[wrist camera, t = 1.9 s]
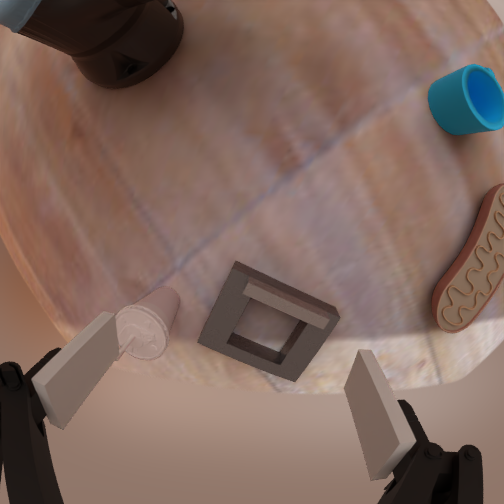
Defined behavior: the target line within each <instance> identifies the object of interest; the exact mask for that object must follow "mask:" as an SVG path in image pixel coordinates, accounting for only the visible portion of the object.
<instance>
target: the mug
mask: <svg viewBox="0 0 504 504" xmlns="http://www.w3.org/2000/svg"><path fill="white" fill-rule="evenodd" d="M428 102H429V107H430V110H431V112H432V115H433V117H434V118H435V120H436V121H437V123H438V124H439V125H440V126H441V127H442V128H443V129H444V130H445V131H446V132H448V133H450V134H452V135H464V134H471V133H478V132H486V131H495V130H498V129H501V128H502V127H503V126H504V93H503V91H502V89H501V86H500V85H499V83H498V82H497V80H496V79H495V75H494V73H493V71H492V70H491V69H490V68H486V67H485V68H484V67H482V66H480V65H476V64H471V65H468V66H465V67H463V68H461V69H459V70H457V71H455V72H453V73H451V74H449V75H447V76H445V77H443V78H441V79H439V80H437V81H435V82H434V83H433V84H432V85H431V87H430V89H429V92H428Z"/></svg>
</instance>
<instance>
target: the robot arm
mask: <svg viewBox="0 0 504 504" xmlns="http://www.w3.org/2000/svg"><path fill="white" fill-rule="evenodd" d="M0 24H2V25H4V26H6V27H8V28H10V29H11V31H12V32H14V33H18V34H21V35H24V36H26V37H29V38H31V39H34V40H36V41H38V42H41V43H43V44H46V45H48V46H50V47H53V48H55V49H57V50H59V51H61V52H64V53H66V54H68V55H70V56H71V57H72V59H73V60H74V62H75V63H76V65H77V66H78V68H79V69H80V71H81V72H82V74H83V75H84V76H85V77H86V78H87V79H88V80H90V81H91V82H93V83H95V84H98V85H100V86H102V87H105V88H113V89H115V88H124V87H128V86H131V85H134V84H137V83H139V82H141V81H143V80H145V79H146V78H148V77H150V76H151V75H153V74H154V73H155V72H156V71H158V70H159V69H160V68H161V67H162V66H163V65H164V64H165V63H166V62H167V61H168V60H169V59H170V58H171V56H172V55H173V54H174V52H175V50H176V49H177V47H178V45H179V43H180V41H181V38H182V34H183V18H182V15H181V13H180V12H179V10H178V8H177V7H176V5H175V4H174V3H173V1H171V0H0ZM119 354H120V353H119V346H118V337H117V328H116V317H115V314H114V313H110V312H106V311H103V312H102V313H101V314H100V315H99V316H97V317H96V318H95V319H94V320H93V321H92V322H91V323H90V324H89V325H87V326H86V327H85V328H84V329H83V330H82V331H81V332H80V333H79V334H78V335H77V336H75V337H74V338H73V339H72V340H71V341H70V342H69V343H68V344H67V345H66V346H65V347H64V348H63V349H61V348H56V349H54V350H51V351H49V352H48V353H47V354H46V355H45V356H44V358H42V359H41V360H40V361H39V363H36V365H34V366H33V367H32V368H31V369H30V370H29V371H28V372H27V373H26V374H25V375H23V372H22V370H21V367H20V366H19V365H18V363H15V362H5V363H3V364H1V365H0V482H1V473H2V464H4V472H5V480H6V486H7V492H8V497H9V502H10V504H64V503H63V499H62V496H61V493H60V490H59V487H58V483H57V480H56V476H55V472H54V469H53V464H52V460H51V455H50V451H49V446H48V441H47V435H46V429H45V424H44V421H43V419H44V418H45V416H46V415H47V417H48V419H49V421H50V423H51V424H53V425H54V426H57V427H58V428H60V429H62V430H64V428H65V427H66V425H67V424H68V423H69V421H70V420H71V418H72V417H73V416H74V414H75V413H76V411H77V410H78V409H79V407H80V406H81V405H82V403H83V402H84V401H85V399H86V398H87V397H88V395H89V394H90V392H91V391H92V390H93V388H94V387H95V386H96V384H97V383H98V382H99V381H100V379H101V378H102V376H103V375H104V374H105V373H106V371H107V370H108V369H109V367H110V366H111V365H112V363H113V362H114V361H115V360H116V358H117V357H118V356H119ZM344 390H345V393H346V396H347V399H348V402H349V406H350V409H351V412H352V416H353V419H354V422H355V426H356V429H357V433H358V436H359V440H360V443H361V447H362V450H363V454H364V458H365V461H366V465H367V469H368V473H369V476H370V480H371V481H372V480H379V479H385V478H387V477H388V476H389V474H390V473H391V472H392V471H393V474H394V479H393V480H392V481H391V482H390V483H389V484H388V485H387V486H386V487H385V488H384V490H386V491H385V492H384V494H383V496H382V497H381V499H380V500H379V502H378V504H483V468H482V456H481V452H480V451H479V450H478V448H476V447H475V446H473V445H464V446H462V447H461V449H460V450H459V451H458V452H445V451H443V449H442V448H441V447H440V446H439V445H437V444H436V443H431V442H429V440H428V438H427V436H426V434H425V432H424V430H423V428H422V426H421V424H420V422H419V421H418V418H417V416H416V415H415V412H414V411H413V408H412V407H411V405H410V404H408V403H407V402H406V401H405V400H397V399H396V397H395V395H394V393H393V391H392V389H391V387H390V385H389V383H388V381H387V379H386V377H385V375H384V373H383V371H382V369H381V368H380V366H379V364H378V362H377V360H376V358H375V356H374V354H373V352H372V351H371V350H358V352H357V355H356V358H355V361H354V364H353V366H352V369H351V372H350V374H349V377H348V379H347V382H346V384H345V387H344Z"/></svg>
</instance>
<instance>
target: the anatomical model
mask: <svg viewBox="0 0 504 504" xmlns="http://www.w3.org/2000/svg"><path fill="white" fill-rule="evenodd" d="M503 279H504V184H499V185H497V186H494V187H493V188H492V189H490V190H489V191H488V193H487V194H486V196H485V197H484V200H483V203H482V205H481V208H480V211H479V214H478V217H477V220H476V222H475V225H474V227H473V230H472V232H471V234H470V236H469V238H468V240H467V242H466V244H465V246H464V247H463V249H462V251H461V252H460V254H459V256H458V257H457V259H456V260H455V261H454V263H453V264H452V265H451V267H450V268H449V269H448V271H447V272H446V273H445V275H444V276H443V277H442V278H441V280H440V281H439V282H438V283H437V285H436V287H435V289H434V292H433V296H432V304H431V305H432V313H433V317H434V319H435V321H436V323H437V325H438V326H439V327H440V328H441V329H442V330H443V331H445V332H447V333H457V332H460V331H462V330H464V329H465V328H467V327H468V326H469V325H470V324H472V322H473V321H474V320H475V319H476V318H477V317H478V315H479V314H480V313H481V312H482V310H483V309H484V308H485V306H486V305H487V304H488V302H489V301H490V300H491V298H492V297H493V295H494V294H495V292H496V290H497V289H498V287H499V286H500V284H501V282H502V280H503Z"/></svg>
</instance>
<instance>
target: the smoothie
mask: <svg viewBox="0 0 504 504" xmlns="http://www.w3.org/2000/svg"><path fill="white" fill-rule="evenodd" d="M179 304H180V299H179V296H178V294H177V293H176V291H175V290H173V289H172V288H170V287H166V286H163V287H160V288H158V289H156V290H155V291H153V292H152V293H150V294H149V295H147V296H146V297H144V298H142V299H141V300H139V301H138V302H136V303H135V304H133V305H128V306H126V307H124V308H122V309H121V310H120V311H119V312H118V314H117V315H116V316H115V317H116V328H117V337H118V344H119V345H120V346H121V348H120V349H119V353H120V354H119V356H118V357H117V358H116V360H115V361H118V360H119V358H120V357H121V356H122V354H123V353H124V352H127V353H128V354H130V355H131V356H133V357H135V358H138V359H141V360H153V359H156V358H158V357H160V356H161V355H162V354H163V352H164V351H165V350H166V348H167V347H168V343H169V332H170V329H171V326H172V324H173V321H174V318H175V315H176V312H177V310H178V307H179Z"/></svg>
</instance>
